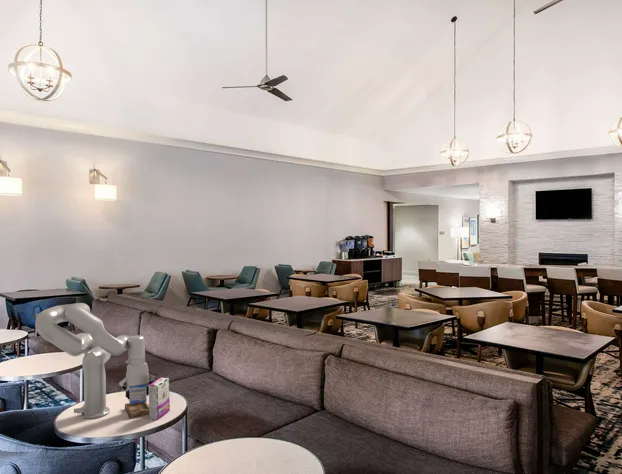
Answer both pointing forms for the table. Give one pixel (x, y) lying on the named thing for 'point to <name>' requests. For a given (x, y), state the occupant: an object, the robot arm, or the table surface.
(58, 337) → the robot arm
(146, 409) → the walnut tray
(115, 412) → the table surface
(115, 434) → the table surface
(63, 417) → the table surface
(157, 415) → the candy bar box
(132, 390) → the medicine box
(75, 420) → the table surface
